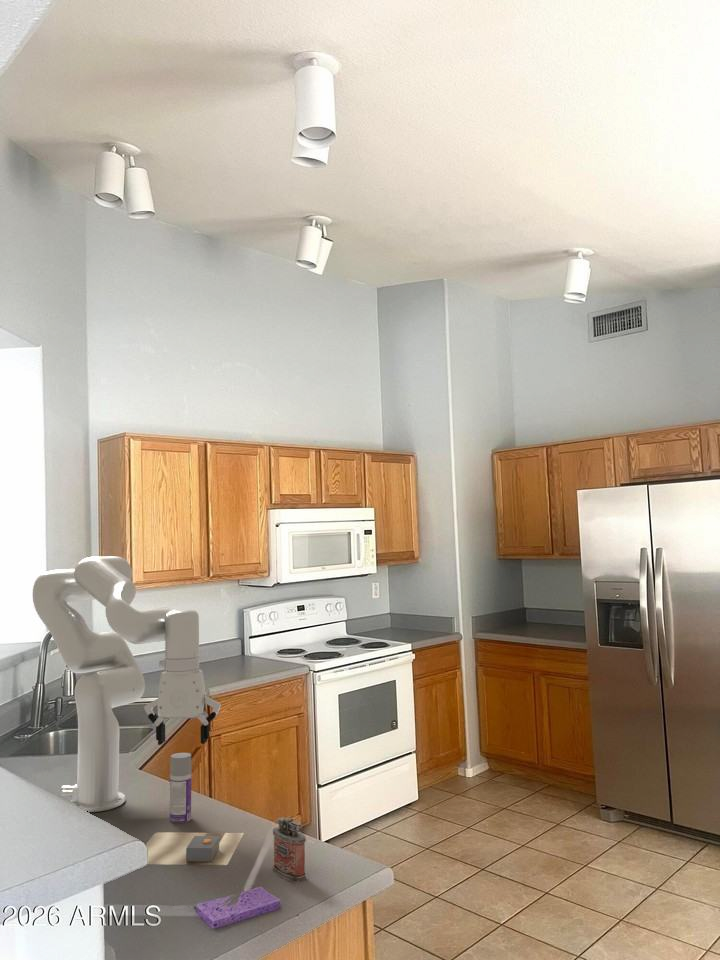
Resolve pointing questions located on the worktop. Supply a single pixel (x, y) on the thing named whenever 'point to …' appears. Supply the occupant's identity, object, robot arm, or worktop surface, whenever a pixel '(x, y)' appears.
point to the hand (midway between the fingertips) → (182, 742)
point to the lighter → (289, 850)
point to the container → (180, 788)
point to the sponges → (237, 907)
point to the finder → (202, 849)
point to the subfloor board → (173, 847)
